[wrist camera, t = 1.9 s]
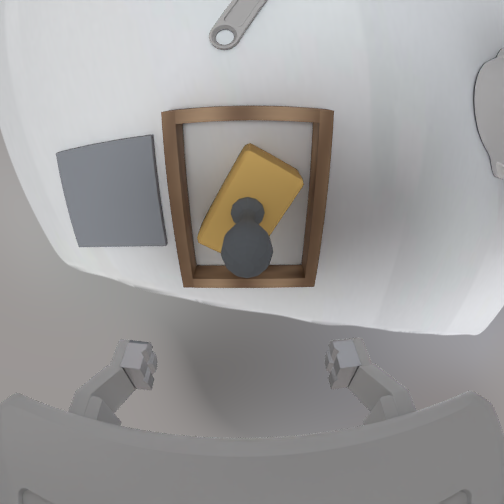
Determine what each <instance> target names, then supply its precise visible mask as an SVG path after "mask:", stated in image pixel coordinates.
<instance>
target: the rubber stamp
mask: <svg viewBox="0 0 504 504" xmlns="http://www.w3.org/2000/svg"><path fill="white" fill-rule="evenodd" d="M303 185H304V184H303V179H302V177H301V176H300V174H299V172H298V171H297V169H295V168H294V167H292V166H290V165H288V164H287V163H285V162H283V161H281V160H280V159H278V158H276V157H274V156H273V155H271V154H269V153H267V152H265V151H264V150H262V149H260V148H258V147H256V146H254V145H253V144H251V143H249V144H247V145H245V146H244V148H243V149H242V151H241V153H240V155H239V156H238V158H237V160H236V162H235V163H234V165H233V167H232V169H231V171H230V172H229V174H228V176H227V178H226V179H225V181H224V183H223V185H222V187H221V189H220V190H219V192H218V194H217V196H216V198H215V200H214V202H213V203H212V205H211V207H210V209H209V211H208V213H207V215H206V217H205V219H204V220H203V222H202V225H201V228H200V231H199V233H198V236H197V239H198V242H199V243H200V244H202V245H204V246H207V247H209V248H211V249H213V250H215V251H217V252H220V253H221V256H222V258H223V261H224V263H225V266H226V268H227V269H228V270H229V271H231V272H232V273H233V274H234V275H236V276H238V277H243V278H251V277H255V276H258V275H259V274H261V273H262V272H263V271H264V270H266V269H267V267H268V266H269V263H270V260H271V257H272V254H273V249H272V245H271V241H270V238H269V236H270V234H271V233H272V231H273V230H274V228H275V227H276V225H277V224H278V222H279V221H280V219H281V218H282V216H283V215H284V213H285V212H286V210H287V209H288V207H289V206H290V205H291V203H292V202H293V200H294V199H295V197H296V196H297V194H298V193H299V191H300V190H301V188H302V187H303Z"/></svg>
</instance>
